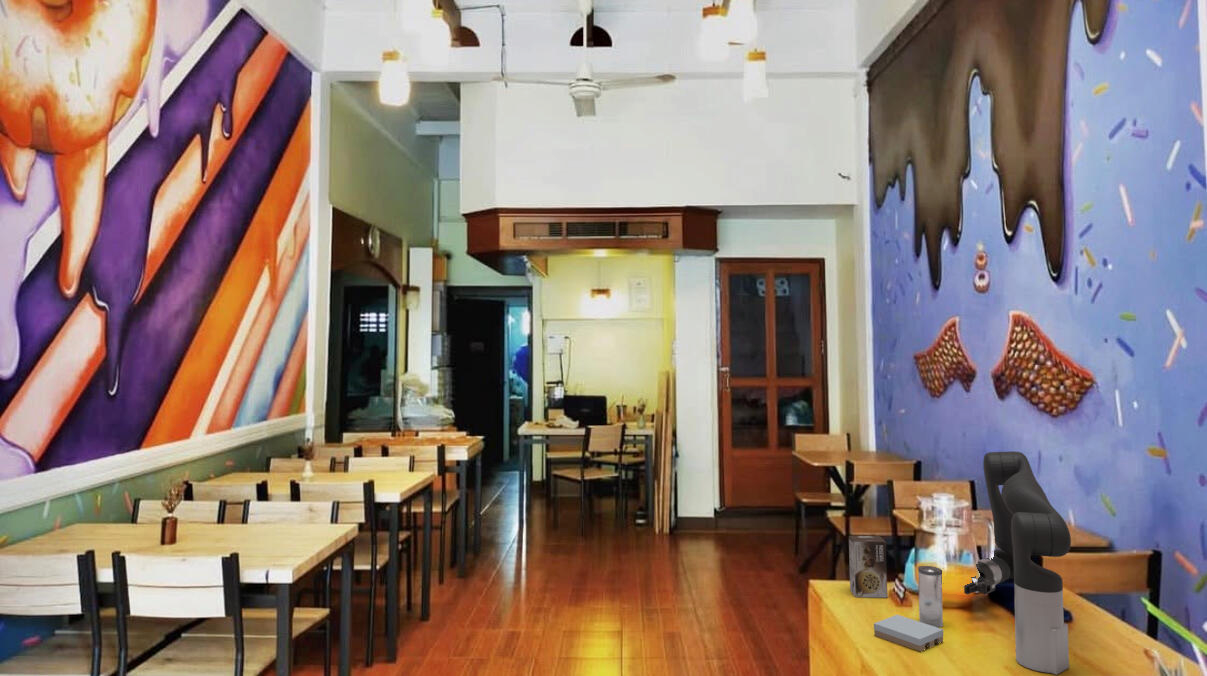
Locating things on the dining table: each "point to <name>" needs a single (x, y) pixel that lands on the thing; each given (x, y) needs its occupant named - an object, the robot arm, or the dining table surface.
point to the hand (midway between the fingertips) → (949, 585)
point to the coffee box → (868, 566)
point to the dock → (908, 632)
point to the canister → (930, 596)
